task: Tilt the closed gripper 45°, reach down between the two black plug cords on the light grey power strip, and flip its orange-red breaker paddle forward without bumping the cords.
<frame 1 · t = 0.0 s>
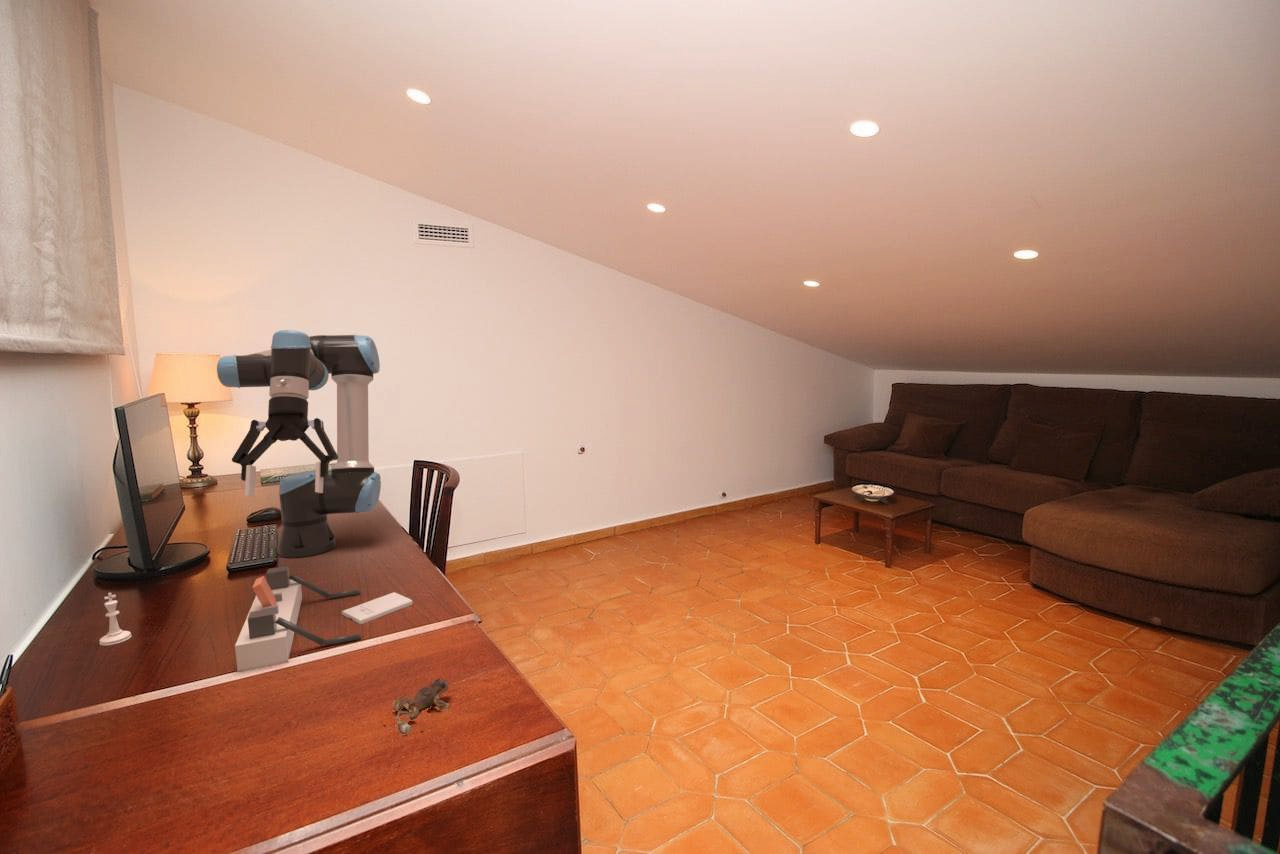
hand: (284, 494, 125), 28 cm above the table, tool tilted 20°, fingers open, 13 cm apart
external hard drive: (378, 612, 132), on the table
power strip: (274, 630, 123), on the table
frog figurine: (419, 713, 95), on the table
chess piece: (115, 640, 119), on the table
breaker paddle: (264, 593, 121), point 8 cm above the table, hinge at -18.0°
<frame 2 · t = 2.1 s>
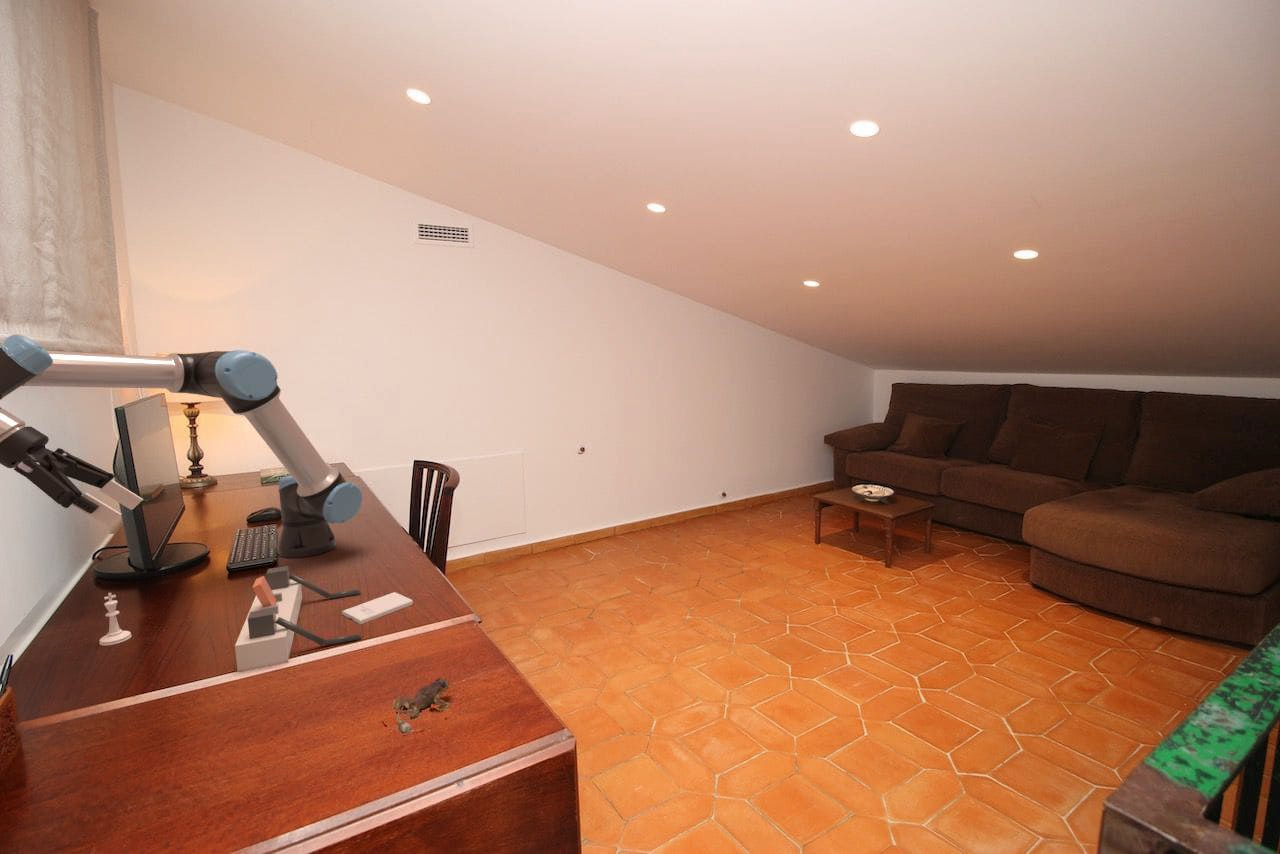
hand: (127, 512, 113), 27 cm above the table, tool tilted 45°, fingers open, 12 cm apart
nothing on the table moved.
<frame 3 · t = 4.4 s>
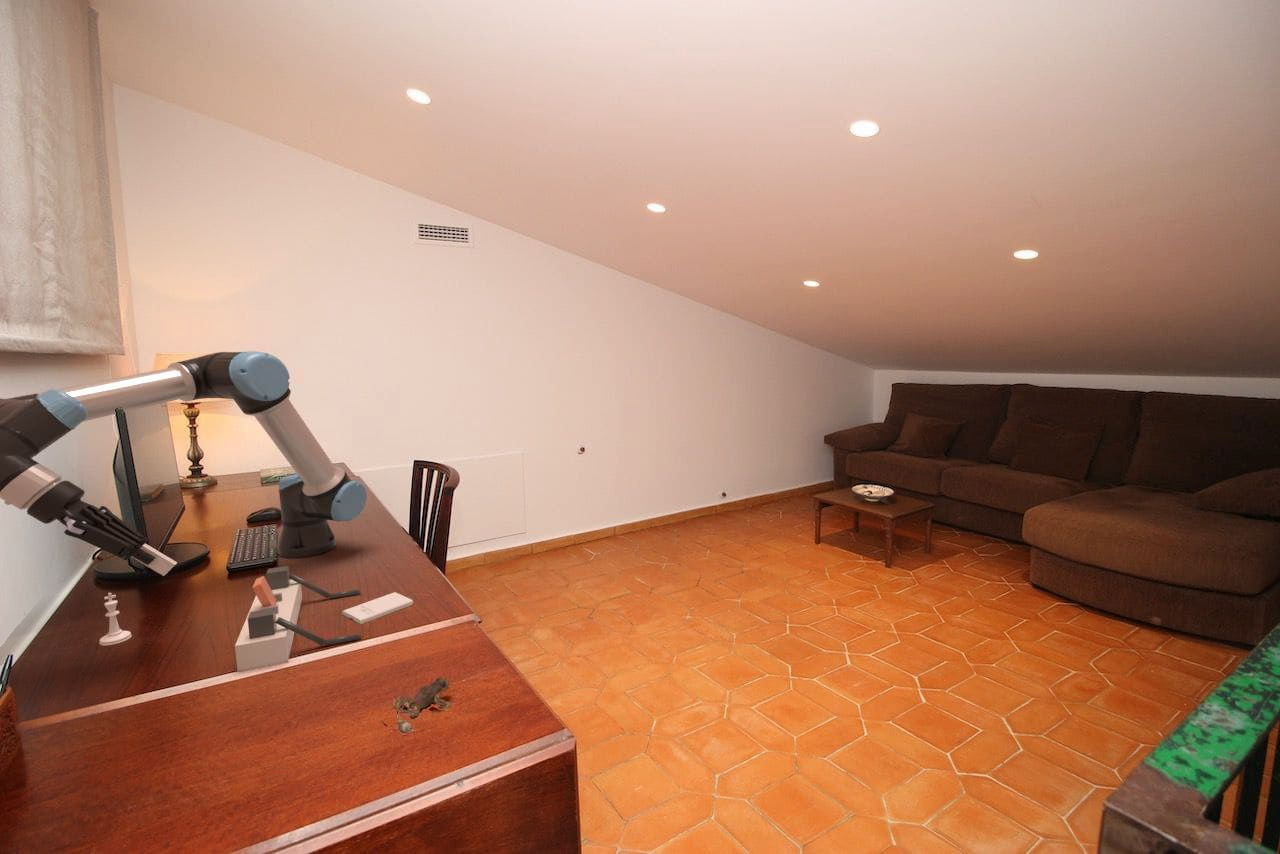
hand: (170, 569, 113), 16 cm above the table, tool tilted 45°, fingers closed
nothing on the table moved.
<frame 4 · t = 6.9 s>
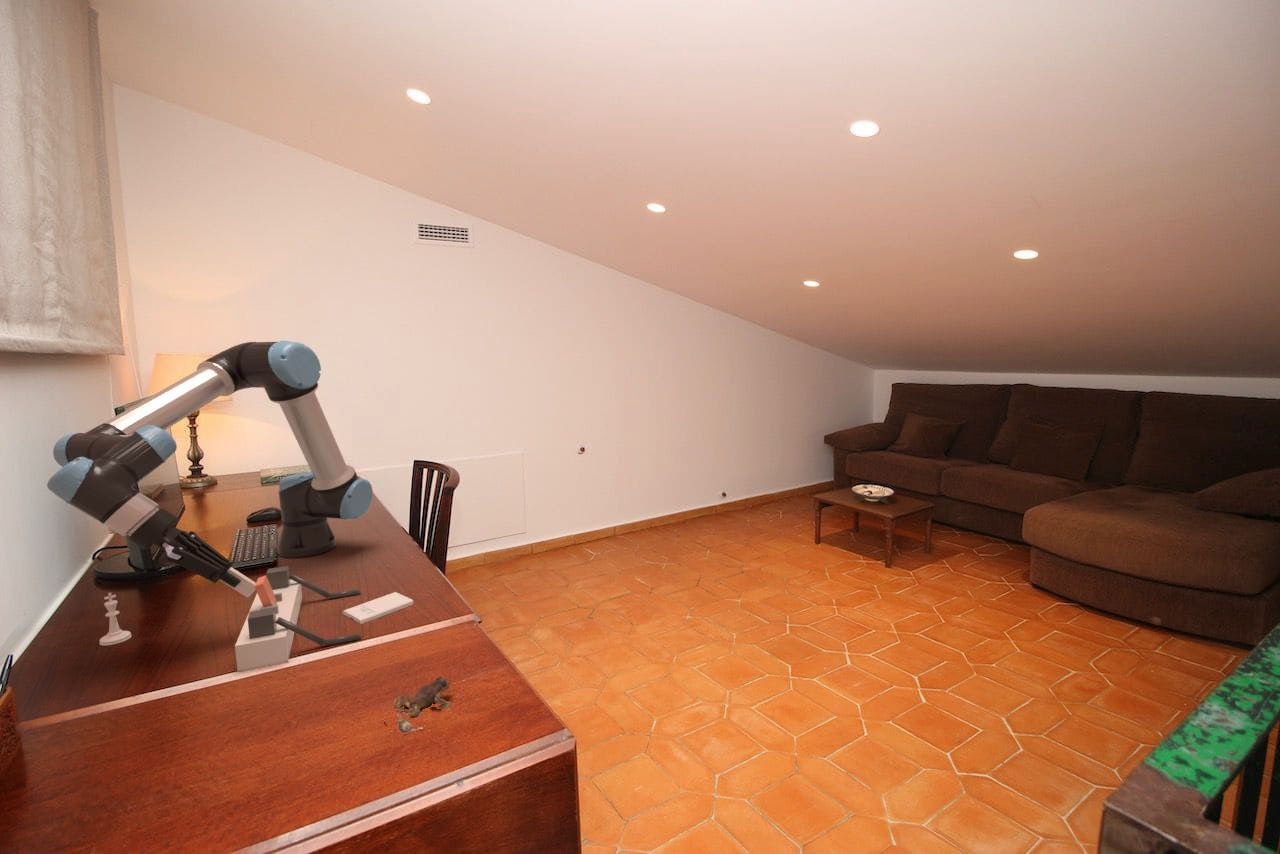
hand: (253, 591, 120), 9 cm above the table, tool tilted 45°, fingers closed
breaker paddle: (265, 593, 121), point 8 cm above the table, hinge at -14.3°, touching gripper
everything else where it was.
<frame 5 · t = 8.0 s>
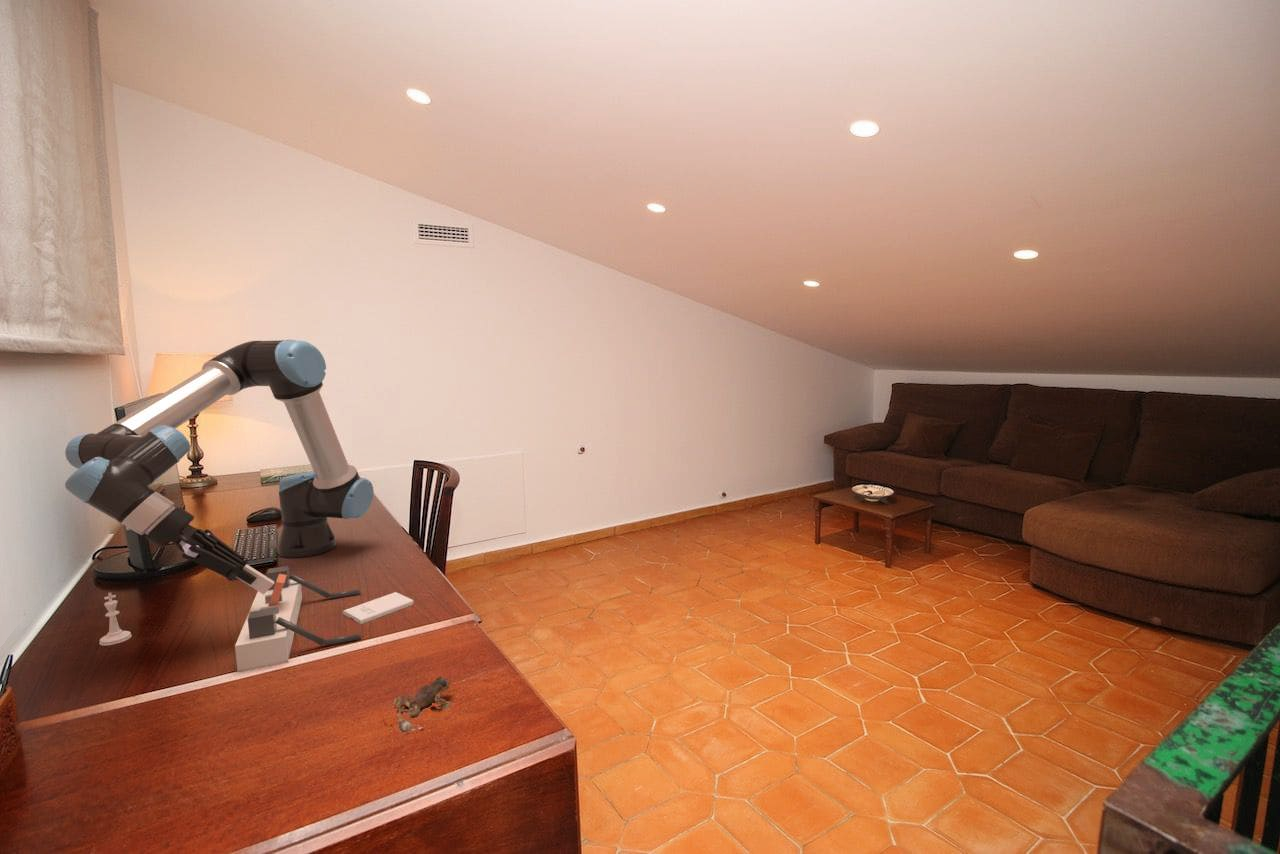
hand: (269, 588, 121), 9 cm above the table, tool tilted 45°, fingers closed
breaker paddle: (277, 592, 122), point 8 cm above the table, hinge at 19.8°, touching gripper
everything else where it was.
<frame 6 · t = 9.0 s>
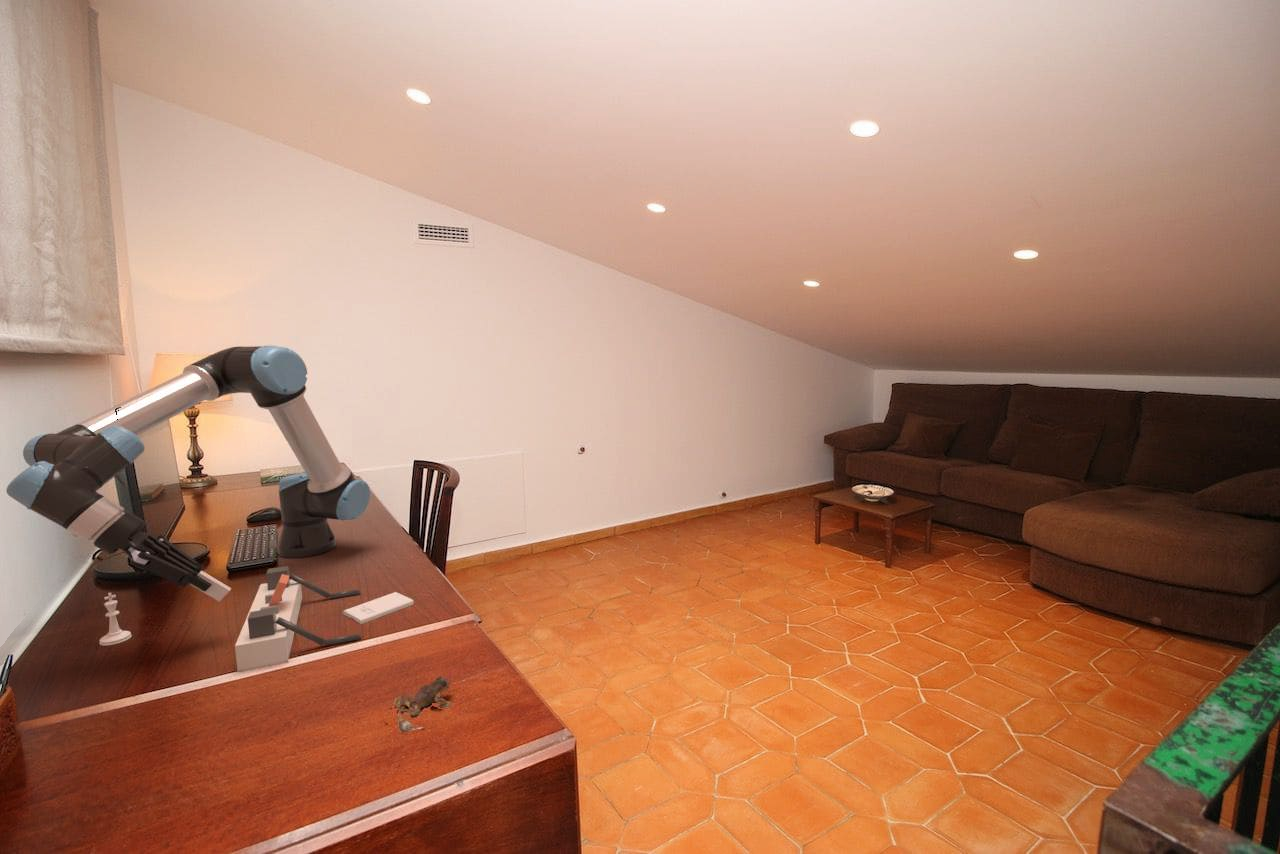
hand: (225, 594, 118), 9 cm above the table, tool tilted 45°, fingers closed
breaker paddle: (278, 592, 122), point 8 cm above the table, hinge at 24.6°
everything else where it was.
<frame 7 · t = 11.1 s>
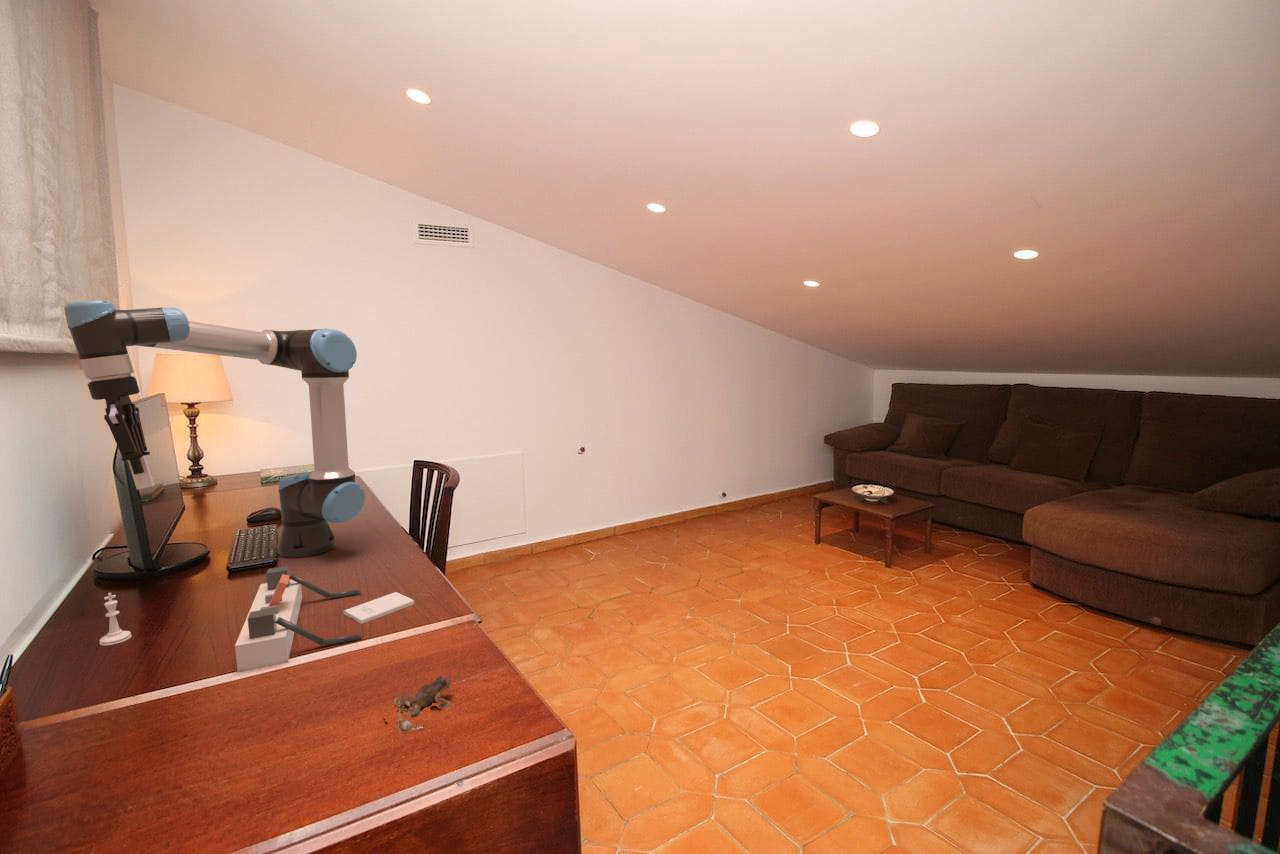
hand: (145, 487, 123), 30 cm above the table, tool pointing down, fingers closed
breaker paddle: (278, 592, 122), point 8 cm above the table, hinge at 25.5°
everything else where it was.
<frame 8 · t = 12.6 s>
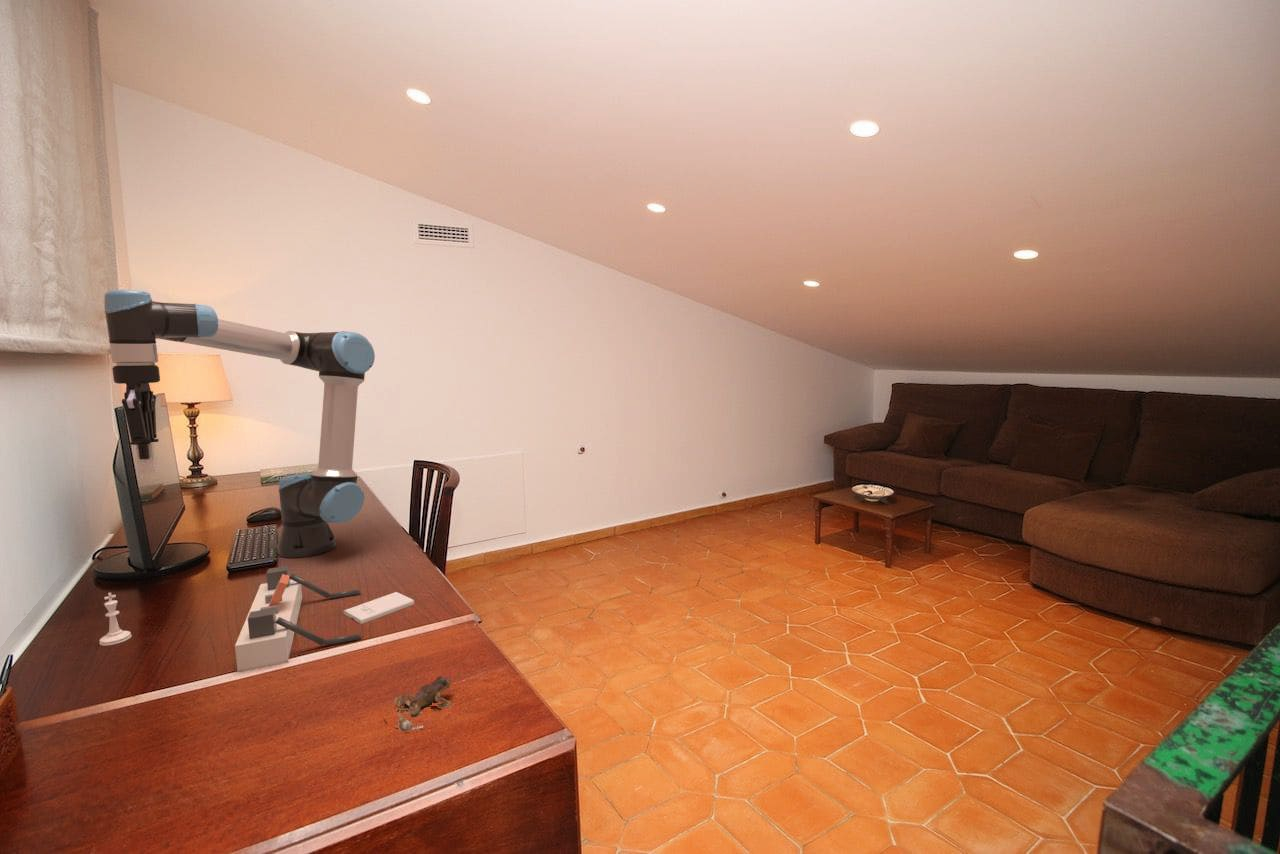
hand: (148, 473, 126), 32 cm above the table, tool pointing down, fingers closed
nothing on the table moved.
at the end: breaker paddle at +26° (first picture: -18°); chess piece moved 0.2 cm from its start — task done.
